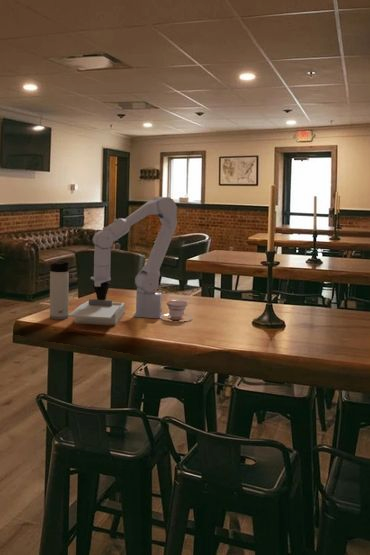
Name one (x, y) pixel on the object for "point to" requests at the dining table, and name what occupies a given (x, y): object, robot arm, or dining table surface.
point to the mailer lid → (95, 309)
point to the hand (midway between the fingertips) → (101, 303)
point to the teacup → (176, 310)
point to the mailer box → (112, 321)
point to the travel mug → (59, 290)
